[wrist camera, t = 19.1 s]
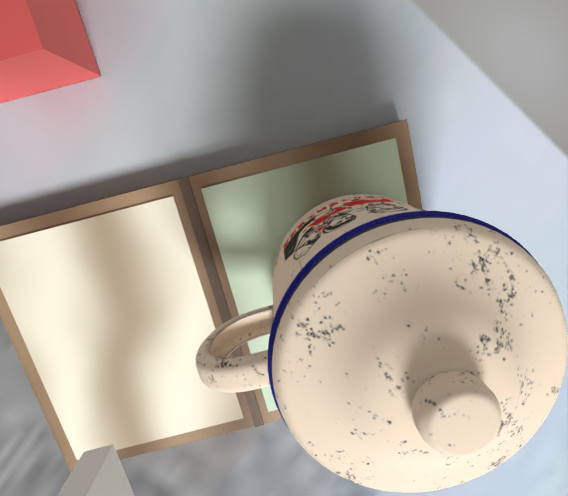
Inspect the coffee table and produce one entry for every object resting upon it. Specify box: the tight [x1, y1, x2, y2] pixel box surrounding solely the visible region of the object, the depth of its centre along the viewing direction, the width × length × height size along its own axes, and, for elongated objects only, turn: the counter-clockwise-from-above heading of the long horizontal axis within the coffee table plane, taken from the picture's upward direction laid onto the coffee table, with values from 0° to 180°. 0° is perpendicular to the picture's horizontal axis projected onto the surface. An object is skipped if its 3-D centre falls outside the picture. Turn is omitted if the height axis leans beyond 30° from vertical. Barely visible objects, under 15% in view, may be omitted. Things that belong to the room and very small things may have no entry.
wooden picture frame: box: [0, 119, 422, 472], centre depth 21 cm, size 22×14×1 cm, turn 104°
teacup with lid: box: [196, 194, 568, 493], centre depth 15 cm, size 12×9×12 cm
